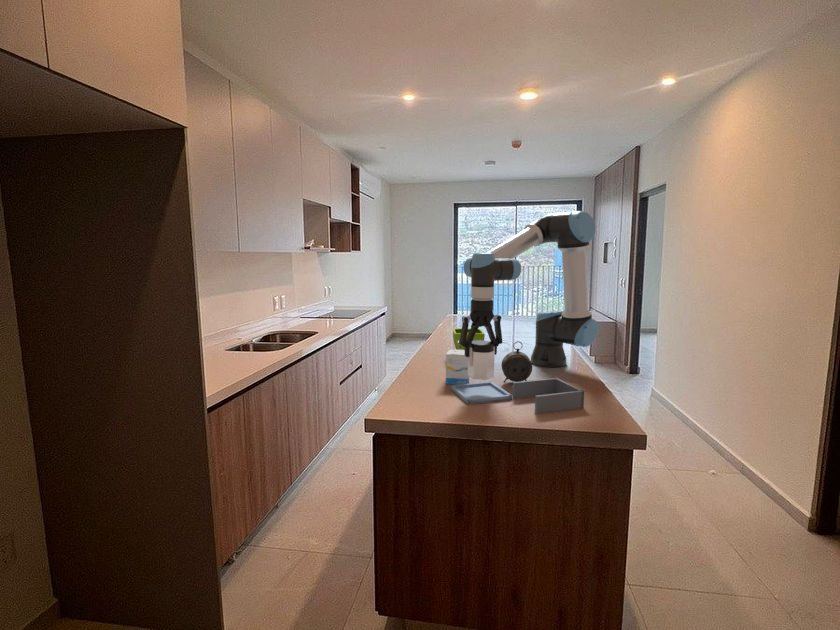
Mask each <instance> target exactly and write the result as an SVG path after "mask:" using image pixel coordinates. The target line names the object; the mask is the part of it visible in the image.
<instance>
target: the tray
mask: <svg viewBox="0 0 840 630" xmlns="http://www.w3.org/2000/svg"><path fill="white" fill-rule="evenodd" d="M450 390H451V391H452V392H453V393H454V394H456V396H458V397H459V398H460V399H461V400H462V401H463V402H464V403H465V404H467V406H468V405H475V404H477V405H478V404H485V403H494V402H495V403H496V402H504V401H510V400H511V401H512V400H513V394H511V393H509V392H508V391H506V390H505V389H503V388H502V387H501V386H499V385H497V384H495V382H493V381H483V382H481V381H480V382H473V383H472V382H471V383H468V384H460V385H453V384H450Z"/></svg>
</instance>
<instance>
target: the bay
mask: <svg viewBox="0 0 840 630" xmlns="http://www.w3.org/2000/svg"><path fill="white" fill-rule="evenodd" d="M533 397H535V398H534V414H536V415H538V414H546V413H552V412H553V413H554V412H561V411H570V410H578V409H583V408H584V407H585V405H584V404H585V403H584V402H585V390H583V389H581V388H579V387H576V386H574V385H572V384H570V383H568V382H566V381H564V380H562V379H560V378H558V377H553V378H552V377H551V378H543V379H542V378H541V379H540V378H539V379H533V380H527V381H525V380H524V381H521V382H514V381H512V399H513V400H517V399H525V398H526V399H527V398H533Z"/></svg>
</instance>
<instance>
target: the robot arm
mask: <svg viewBox="0 0 840 630" xmlns="http://www.w3.org/2000/svg"><path fill="white" fill-rule="evenodd" d="M595 233H596V223H595V221H594V218H593V216H592V215H591V214H590V213H589V212H587V211H584V210H572V211H561V212H551V213H548V214H545V215H542V216H541V217H538V218H537V219H536V220H533V221H532V222H530V223H528V224H527V225H525V226H524V228H523V230H522V231H519V232H518V233H516V234H515V235H513V236H512V237H509V238H508V239H506V240H505V241H503V242H500V243H499V244H498V245H496V246H494V247H493V248H491V249H489V250H488V251H486V252H475V253H473V254H472V256H471V257H469V258H467V259H465V261H464V263H463V271H464V272H463V273H464V275H466V277H468V278H470V279H471V284H470V285H471V286H470V298H471V300H470V314H469V315H467V316H464V315H463V316H462V317H461V322H462V325H461V328H462V330H461V336H460V342H459V341H458V343H459V344H460V345H462V346H464V347H465V356H466V357H467V365H468V366H469V367H472V348H471V347H470V346H471V343H472V341H473V338H474V336H475V333H476V331H477V329H480V328H481V327H484V328H485V331H486V332H487V335H488V339H489V341H490V342H493V343H494V351H495V357H496V356H497V353H498V347H499V345H502V344H503V336H502V333H503V332H502V325H501V324H502V323H501V321H502V316H501V315H500V314H499V315H498V314H494V300H493V299H494V294H495V293H494V292H495V291H494V290H495V289H494V288H495V282H496V281H510V282H511V281H513V280H516V279H518V278H519V277H520V275H521V274H522V264H521V263H520V261H519V260H518V259H516V257H518V256H519V255H522V254H523V253H525V252H526V251H528V250H530V249H531V248H533V247H539V246H541V245H542V244H547V243H548V244H549V243H557V249H558V250H559V251H561V257H562V258H561V259H562V276H563V277H562V278H563V295H564V296H563V297H564V310H548V311H547V310H546V311H539V312H538V313H537V314H536V318H535V319H536V320H535V340H534V341H535V344H534V347H533V350H532V353H531V355H530V361H531V363H532V365H535V366H538V367H544V368H561V367H564V366H566V365H567V357H566V354H565V350H564V344H567V345H571V346H575V347H583V348H587V347H589V346H591V345H592V344H593V343H594V342H595V340H596V339H597V338H598V337H597V336H598V334H599V323H598V321H597V320H596V319H594V318H592V316H593V314H592V311H591V310H589V309H588V290H587V266H586V265H587V263H586V249H587V248H588V247H589V246H590V241H592V240H593V238H594V237H595V235H596V234H595ZM492 320H493V325H494V326H493V325H492ZM470 321H471V322H472V323H471V325H470V328H469V323H470ZM493 327H494V330H493ZM468 329H470V331H469V334H468V336H467V332H468ZM466 338H467V339H466ZM495 357H494V359H496V358H495Z"/></svg>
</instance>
